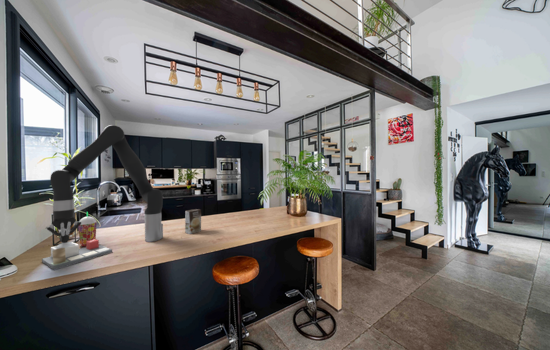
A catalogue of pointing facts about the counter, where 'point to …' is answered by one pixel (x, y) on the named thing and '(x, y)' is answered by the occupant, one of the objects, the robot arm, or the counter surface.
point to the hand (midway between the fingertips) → (64, 242)
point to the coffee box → (192, 221)
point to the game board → (78, 254)
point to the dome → (64, 245)
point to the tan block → (59, 255)
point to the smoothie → (87, 229)
